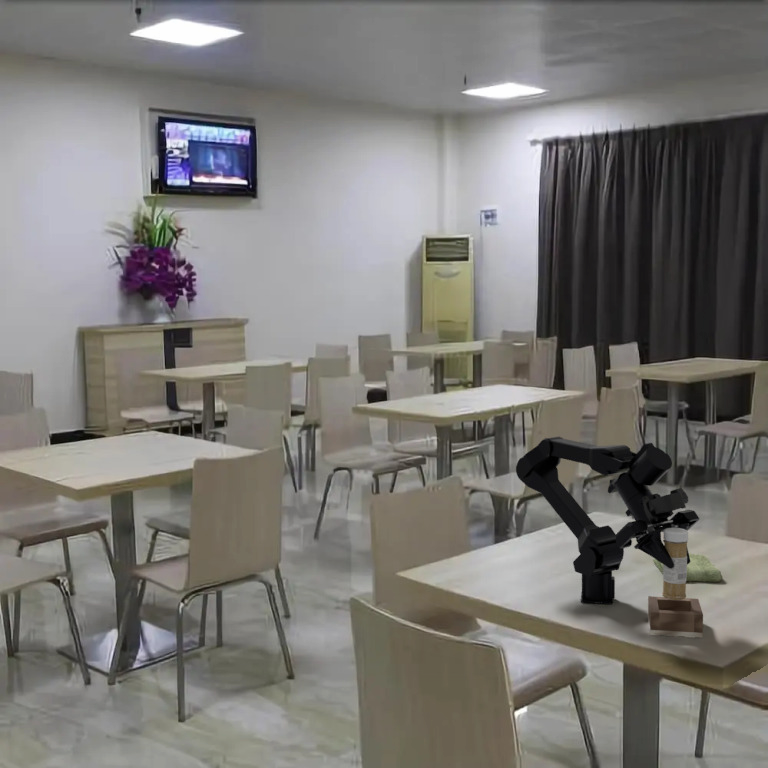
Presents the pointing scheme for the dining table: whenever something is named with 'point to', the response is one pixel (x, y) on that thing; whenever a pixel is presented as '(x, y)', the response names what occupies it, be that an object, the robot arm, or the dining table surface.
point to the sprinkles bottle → (675, 564)
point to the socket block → (675, 617)
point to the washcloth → (698, 569)
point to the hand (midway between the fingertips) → (680, 565)
